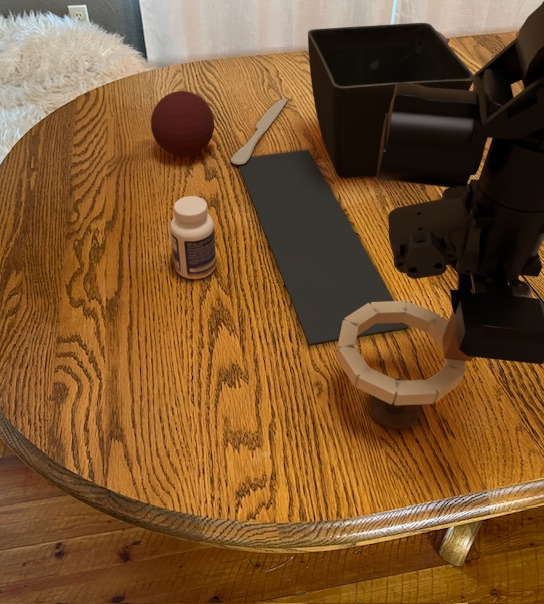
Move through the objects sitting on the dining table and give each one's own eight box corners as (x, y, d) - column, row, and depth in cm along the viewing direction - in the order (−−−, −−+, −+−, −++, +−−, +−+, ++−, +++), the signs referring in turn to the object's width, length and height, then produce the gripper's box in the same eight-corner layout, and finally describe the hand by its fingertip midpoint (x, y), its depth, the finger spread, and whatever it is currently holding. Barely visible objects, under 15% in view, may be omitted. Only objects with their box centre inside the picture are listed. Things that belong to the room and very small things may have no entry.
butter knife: (226, 160, 95) (243, 164, 94) (278, 96, 110) (293, 98, 109) (226, 163, 95) (244, 166, 94) (277, 98, 110) (293, 100, 110)
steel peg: (429, 412, 62) (439, 386, 58) (396, 439, 59) (404, 412, 56) (391, 382, 64) (399, 355, 61) (359, 406, 62) (365, 379, 59)
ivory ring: (487, 361, 57) (509, 313, 53) (404, 428, 52) (420, 382, 48) (393, 295, 64) (405, 247, 59) (311, 349, 59) (317, 302, 54)
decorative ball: (213, 169, 95) (211, 110, 88) (150, 169, 95) (143, 110, 88) (216, 136, 102) (214, 79, 95) (158, 136, 102) (151, 79, 95)
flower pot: (448, 185, 90) (479, 75, 78) (323, 195, 89) (335, 86, 77) (408, 122, 103) (429, 21, 91) (299, 130, 102) (306, 29, 90)
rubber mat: (408, 328, 70) (408, 326, 70) (308, 345, 68) (309, 343, 68) (308, 151, 98) (308, 149, 97) (236, 160, 96) (236, 158, 96)
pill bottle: (223, 260, 79) (221, 199, 72) (203, 285, 76) (199, 223, 69) (188, 248, 81) (182, 187, 74) (167, 272, 78) (159, 211, 71)
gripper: (400, 118, 51) (372, 257, 62) (411, 262, 38) (373, 406, 49) (539, 127, 50) (485, 268, 61) (598, 280, 37) (516, 423, 48)
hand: (463, 332), depth 55 cm, fingers closed on ivory ring, 2 cm apart
